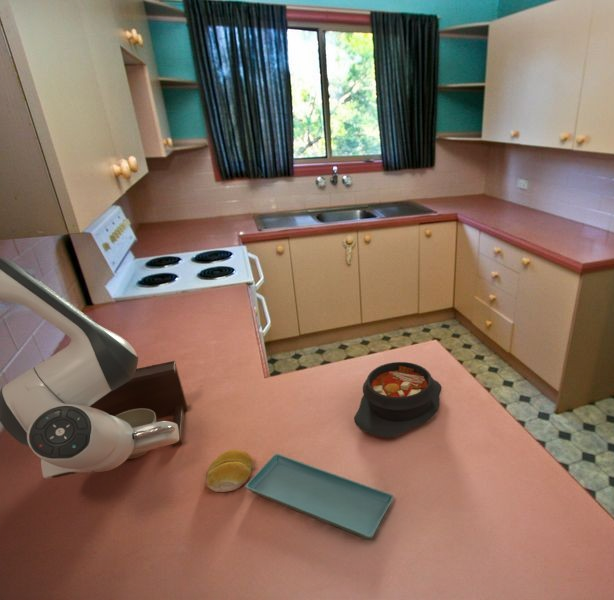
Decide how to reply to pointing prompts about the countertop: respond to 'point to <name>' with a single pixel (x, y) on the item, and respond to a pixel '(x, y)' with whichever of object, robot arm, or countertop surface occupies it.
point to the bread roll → (229, 471)
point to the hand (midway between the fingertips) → (128, 450)
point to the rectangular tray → (321, 495)
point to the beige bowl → (138, 421)
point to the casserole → (397, 399)
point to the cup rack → (149, 394)
